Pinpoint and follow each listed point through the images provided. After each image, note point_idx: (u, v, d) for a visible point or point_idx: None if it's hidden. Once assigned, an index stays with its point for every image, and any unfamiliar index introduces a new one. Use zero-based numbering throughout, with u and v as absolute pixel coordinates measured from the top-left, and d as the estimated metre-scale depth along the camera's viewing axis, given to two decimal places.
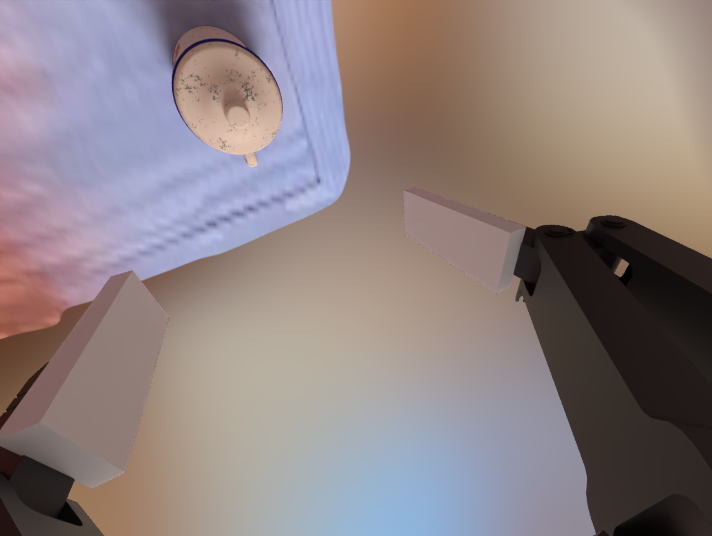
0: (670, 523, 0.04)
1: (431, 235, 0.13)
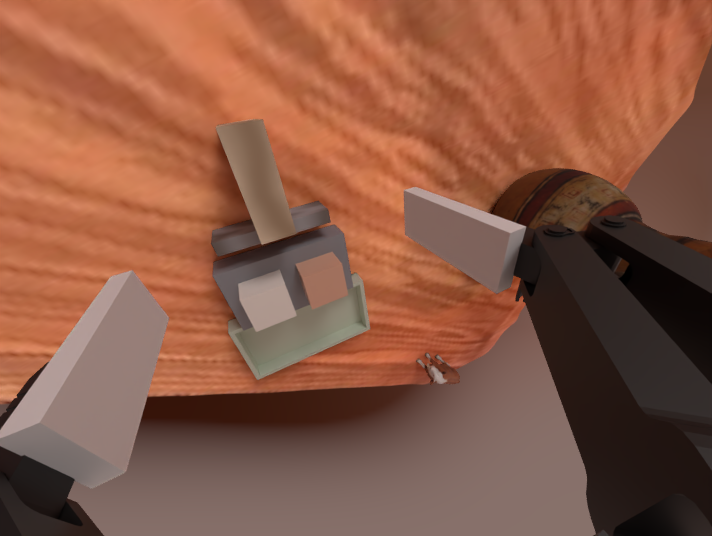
0: (670, 523, 0.04)
1: (431, 235, 0.13)
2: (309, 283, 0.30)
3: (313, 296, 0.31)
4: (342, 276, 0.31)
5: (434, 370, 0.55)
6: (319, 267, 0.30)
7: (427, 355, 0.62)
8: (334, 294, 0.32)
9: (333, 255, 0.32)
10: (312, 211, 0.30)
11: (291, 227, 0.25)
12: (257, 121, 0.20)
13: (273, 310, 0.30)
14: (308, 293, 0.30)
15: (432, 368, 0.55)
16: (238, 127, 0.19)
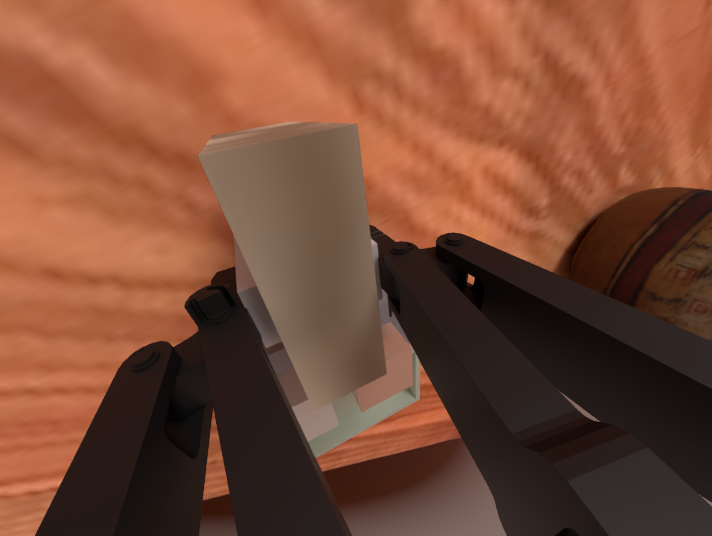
0: (566, 534, 0.04)
1: None
2: None
3: (365, 396, 0.20)
4: (409, 364, 0.20)
5: None
6: None
7: None
8: (393, 388, 0.21)
9: (393, 328, 0.21)
10: None
11: (379, 366, 0.11)
12: (340, 130, 0.06)
13: (305, 426, 0.19)
14: (359, 394, 0.19)
15: None
16: (278, 151, 0.06)
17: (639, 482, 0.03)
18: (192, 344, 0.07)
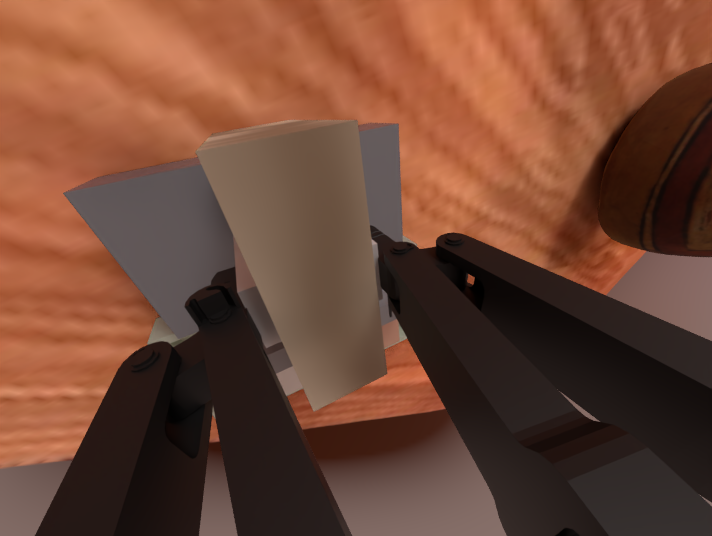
0: (566, 533, 0.04)
1: None
2: None
3: None
4: None
5: None
6: None
7: None
8: None
9: (396, 321, 0.20)
10: None
11: (379, 365, 0.11)
12: (340, 127, 0.06)
13: None
14: None
15: None
16: (277, 147, 0.05)
17: (639, 482, 0.03)
18: (192, 344, 0.07)
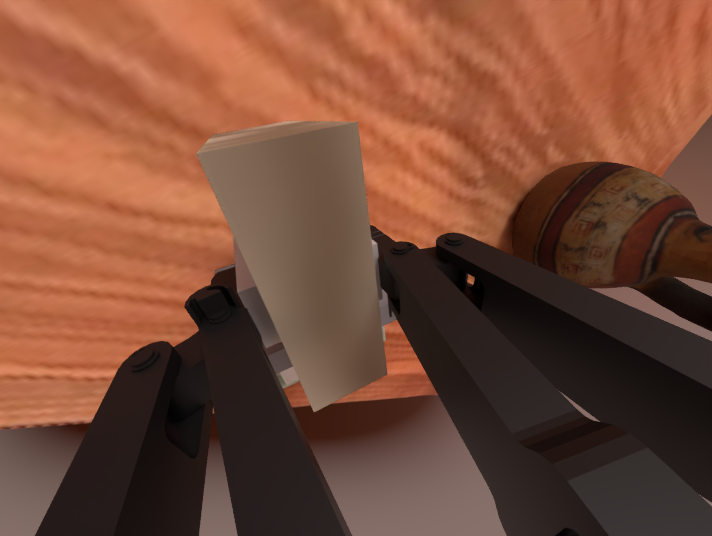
0: (566, 534, 0.04)
1: None
2: None
3: None
4: None
5: None
6: None
7: None
8: None
9: None
10: None
11: (379, 366, 0.11)
12: (341, 129, 0.06)
13: None
14: None
15: None
16: (278, 149, 0.05)
17: (639, 482, 0.03)
18: (192, 344, 0.07)
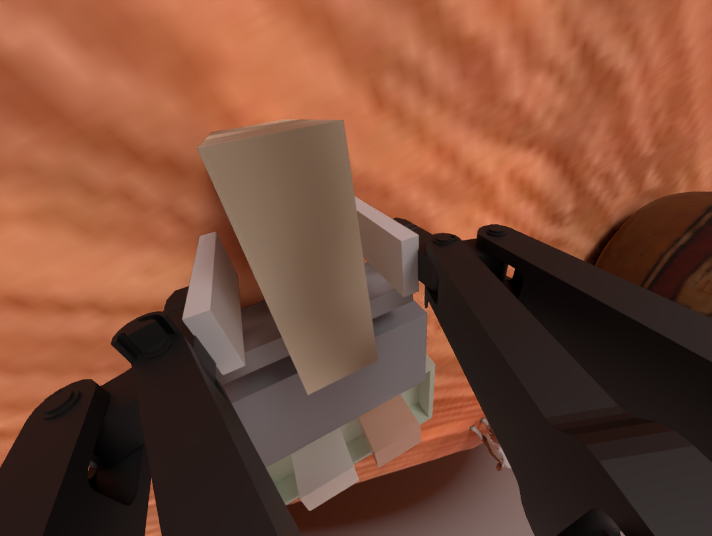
0: (592, 522, 0.04)
1: None
2: None
3: None
4: None
5: (503, 452, 0.41)
6: (398, 451, 0.25)
7: (484, 421, 0.48)
8: None
9: (418, 432, 0.25)
10: (383, 284, 0.17)
11: (370, 352, 0.12)
12: (328, 126, 0.06)
13: None
14: (368, 442, 0.27)
15: (500, 449, 0.41)
16: (270, 144, 0.06)
17: (678, 474, 0.03)
18: (126, 380, 0.07)
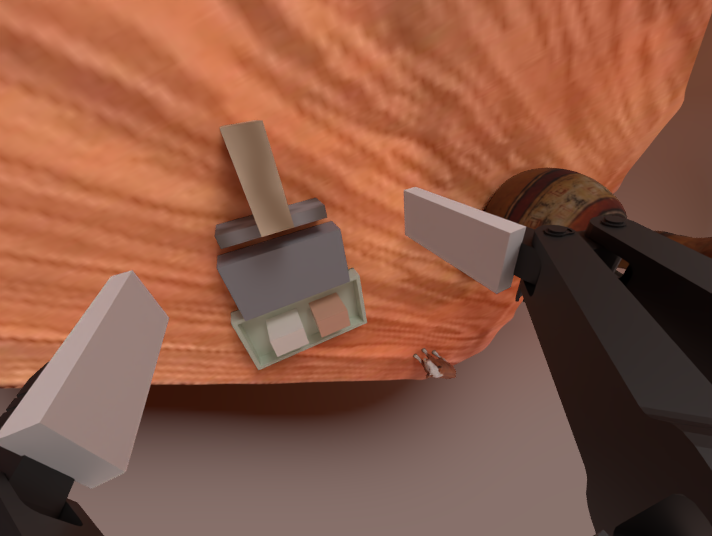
0: (670, 523, 0.04)
1: (431, 235, 0.13)
2: None
3: None
4: None
5: (430, 364, 0.56)
6: (334, 327, 0.40)
7: (424, 350, 0.63)
8: None
9: (347, 315, 0.40)
10: (309, 206, 0.32)
11: (289, 221, 0.27)
12: (257, 122, 0.21)
13: None
14: (318, 327, 0.42)
15: (428, 362, 0.56)
16: (240, 127, 0.21)
17: None
18: None
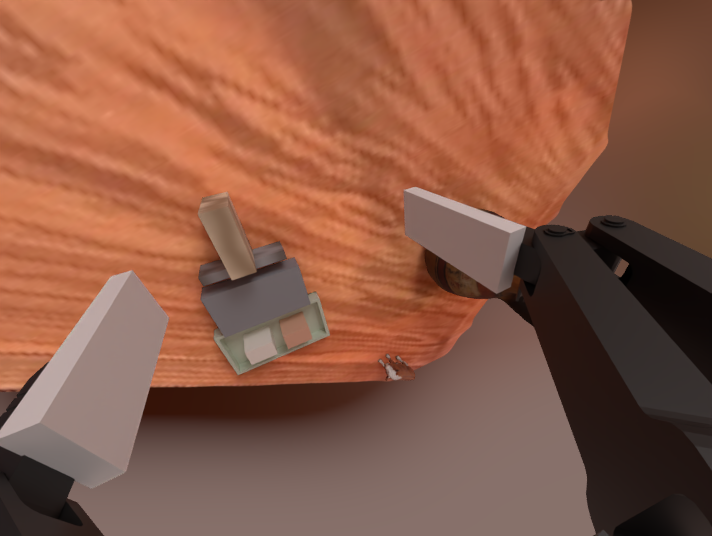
0: (670, 523, 0.04)
1: (431, 234, 0.13)
2: None
3: None
4: None
5: (388, 368, 0.66)
6: (298, 340, 0.50)
7: (387, 356, 0.73)
8: None
9: (308, 330, 0.50)
10: (272, 251, 0.41)
11: (252, 268, 0.36)
12: (224, 207, 0.31)
13: None
14: None
15: (387, 367, 0.66)
16: (212, 212, 0.31)
17: None
18: None
